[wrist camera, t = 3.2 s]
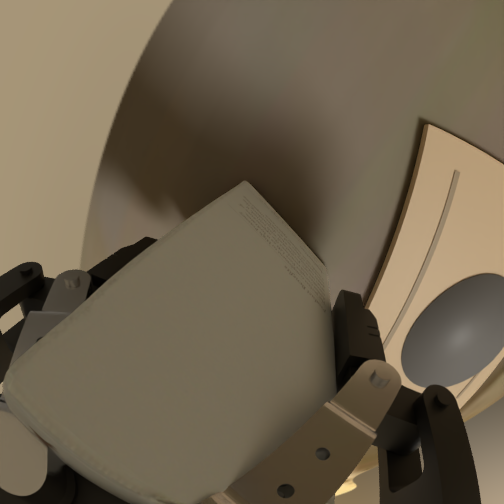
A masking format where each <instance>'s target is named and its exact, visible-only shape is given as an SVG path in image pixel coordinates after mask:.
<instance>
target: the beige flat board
mask: <svg viewBox="0 0 504 504" xmlns="http://www.w3.org/2000/svg"><path fill="white" fill-rule="evenodd" d="M365 309H369V310H370V311H371V312H372V314H373V315H374V316H375V318H376V319H377V323H378V327H379V329H378V330H379V331H380V338H381V340H382V344H383V349H384V353H385V358H386V363H388V364H390V365H391V366H393V367H394V368H395V369H396V370H397V372H398V373H399V375H400V377H401V381H402V384H401V385H403V386H405V387H407V388H410V389H412V390H415V391H417V392H419V393H422V392H423V391H424V390H425V389H426V388H427V387H428V386H430V385H433V384H436V385H441V386H443V387H445V388H447V389H448V390H449V391H450V392H451V393H452V394H453V395H454V397H455V399H456V401H457V404H458V407H459V409H460V408H461V407H462V406H463V405H464V404H465V403H466V402H467V401H468V400H469V399H470V397H471V396H472V395H473V394H474V393H475V392H476V391H477V390H478V388H479V387H480V386H481V385H482V384H483V383H484V381H485V380H486V379H487V378H488V376H489V375H490V374H491V373H492V371H493V370H494V369H495V367H496V366H497V365H498V364H499V362H500V361H501V359H502V358H503V357H504V165H503V164H502V163H500V162H499V161H497V160H496V159H494V158H492V157H491V156H489V155H488V154H486V153H484V152H482V151H481V150H479V149H477V148H476V147H474V146H472V145H470V144H468V143H466V142H465V141H463V140H461V139H459V138H457V137H455V136H453V135H451V134H449V133H447V132H445V131H443V130H441V129H439V128H436V127H434V126H432V125H430V124H425V125H424V128H423V133H422V138H421V143H420V147H419V151H418V156H417V160H416V164H415V168H414V172H413V176H412V179H411V183H410V187H409V190H408V193H407V197H406V200H405V203H404V207H403V210H402V213H401V216H400V219H399V222H398V225H397V228H396V231H395V234H394V237H393V239H392V242H391V245H390V248H389V250H388V253H387V256H386V258H385V261H384V263H383V266H382V268H381V271H380V273H379V276H378V278H377V281H376V283H375V285H374V288H373V290H372V292H371V294H370V297H369V299H368V301H367V303H366V306H365Z"/></svg>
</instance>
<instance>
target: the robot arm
mask: <svg viewBox="0 0 504 504" xmlns="http://www.w3.org/2000/svg"><path fill="white" fill-rule="evenodd" d="M156 241H157V239H154V238H150V237H144V238H143V239H141V240H140V241H138V242H137V243H135V244H134V245H130V246H127V247H124V248H121V249H120V250H118V251H117V252H115V253H114V255H113V254H112V255H111V256H109V257H108V258H107V259H105V260H103V261H102V262H100V263H99V264H97V265H96V266H94V267H93V268H91V269H90V270H89V271H87V272H85V271H82V270H68V271H65V272H63V273H61V274H59V275H58V276H57V277H56V278H55V279H53V278H48V277H44V275H43V270H42V266H41V265H40V264H39V263H36V262H26V263H23V264H20V265H18V266H17V267H15V268H13V269H12V270H10V271H8V272H7V273H5V274H3V275H2V276H0V318H1V316H3V315H4V314H5V313H6V312H8V311H9V310H10V309H12V308H13V307H15V306H16V305H17V304H20V307H21V310H22V313H23V316H24V318H23V319H22V320H21V321H19V322H18V323H17V324H16V325H14V326H13V327H12V328H11V329H9V330H8V331H7V332H6V333H4V334H3V335H2V333H1V331H0V384H1V382H3V381H4V378H5V375H6V372H7V371H8V370H9V368H10V367H11V366H12V364H13V363H14V362H15V361H16V360H18V359H19V358H20V357H21V356H22V355H23V354H24V353H25V352H26V351H27V350H29V349H30V348H31V347H32V346H33V345H34V344H36V343H37V342H38V341H39V340H40V339H41V338H43V337H44V336H45V335H46V334H47V333H48V332H50V331H51V330H52V329H53V328H54V327H55V326H57V325H58V324H59V323H60V322H61V321H63V320H64V319H65V318H66V317H68V316H69V315H70V314H72V313H73V312H74V311H75V310H76V309H77V308H78V307H79V306H80V305H81V304H82V303H83V302H84V301H86V300H87V299H88V298H89V297H90V296H91V295H92V294H93V293H94V292H95V291H96V290H97V289H98V288H100V287H101V286H102V285H103V284H104V283H105V282H106V281H107V280H108V279H110V278H111V277H112V276H113V275H114V274H116V273H117V272H118V271H119V270H121V269H122V268H123V267H124V266H125V265H126V264H128V263H129V262H130V261H131V260H133V259H134V258H135V257H137V256H138V255H139V254H140V253H142V252H143V251H144V250H145V249H147V248H148V247H150V246H151V245H152V244H154V243H155V242H156ZM332 321H333V334H334V348H335V367H336V390H337V395H336V396H335V397H334V398H333V399H332V400H331V401H327V402H326V403H325V404H324V405H323V406H322V407H321V408H320V409H319V410H318V411H317V412H316V413H315V414H314V415H313V416H312V417H311V418H310V419H309V420H308V421H307V422H306V423H305V424H304V425H303V426H302V427H301V428H300V429H298V430H297V431H296V432H295V433H294V434H293V435H292V436H291V437H290V438H289V439H288V440H286V441H285V442H284V443H283V444H282V445H281V446H280V447H278V448H277V449H276V450H275V451H274V452H273V453H271V454H270V455H269V456H268V457H266V458H265V459H264V460H263V461H262V462H260V463H259V464H258V465H257V466H255V467H254V468H253V469H251V470H250V471H249V472H247V473H246V474H245V475H243V476H242V477H241V478H239V479H238V480H237V481H235V482H234V483H232V484H231V485H229V486H228V488H227V489H226V490H225V491H223V492H218V493H216V494H214V495H212V496H210V497H208V498H206V499H205V500H203V501H201V502H199V503H198V504H326V503H327V502H328V501H329V499H330V498H331V497H332V496H333V495H334V494H335V493H336V491H337V490H338V489H339V488H340V487H341V485H342V484H343V483H344V482H345V480H346V479H347V478H348V477H349V475H350V474H351V473H352V471H353V470H354V469H355V467H356V466H357V465H358V463H359V462H360V461H361V459H362V458H363V456H364V455H365V453H366V452H367V451H368V449H369V448H370V446H371V445H374V446H377V447H378V460H379V483H380V504H481V498H480V492H479V485H478V479H477V474H476V469H475V465H474V460H473V456H472V452H471V448H470V444H469V440H468V436H467V433H466V429H465V426H464V422H463V419H462V416H461V413H460V410H459V407H458V404H457V401H456V399H455V397H454V395H453V394H452V393H451V392H450V391H449V390H448V389H447V388H445V387H443V386H441V385H436V384H433V385H430V386H428V387H427V388H426V389H425V390H424V391H423V392H422V393H419V392H417V391H415V390H412V389H410V388H407V387H405V386H403V385H401V384H402V381H401V377H400V375H399V373H398V372H397V370H396V369H395V368H394V367H393V366H391V365H390V364H388V363H386V358H385V353H384V349H383V344H382V340H381V338H380V331H379V330H378V329H379V327H378V323H377V319H376V318H375V316H374V315H373V314H372V312H371V311H370V310H369V309H365V308H363V303H362V299H361V295H360V294H358V293H354V292H350V291H346V290H341V291H340V293H339V295H338V297H337V300H336V302H335V305H334V307H333V310H332ZM420 446H421V448H422V454H423V460H424V470H423V473H422V468H421V461H420V454H419V447H420ZM277 491H279V492H282V493H283V494H284V497H283V498H282V497H280V496H279V495H278V493H277ZM0 504H130V503H128V502H126V501H124V500H122V499H120V498H118V497H116V496H114V495H113V494H111V493H109V492H107V491H105V490H104V489H102V488H100V487H99V486H97V485H95V484H94V483H92V482H90V481H89V480H87V479H86V478H84V477H83V476H81V475H80V474H78V473H77V472H76V471H74V470H73V469H72V468H70V467H69V466H68V465H66V464H65V463H64V462H63V461H62V460H61V459H60V458H59V457H58V456H57V455H56V454H55V453H54V452H53V451H52V450H51V449H50V448H49V447H48V446H47V445H45V444H44V443H43V442H42V441H41V440H40V439H39V438H37V437H36V436H35V435H34V434H33V433H32V432H31V431H30V430H29V429H28V428H27V427H26V426H25V425H24V424H23V423H22V422H21V421H20V420H19V419H18V418H17V417H16V416H15V415H14V413H13V412H12V411H11V410H10V409H9V407H8V405H7V403H6V401H5V397H4V392H2V394H0Z"/></svg>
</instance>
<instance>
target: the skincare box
mask: <svg viewBox="0 0 504 504" xmlns="http://www.w3.org/2000/svg"><path fill="white" fill-rule="evenodd" d="M3 392H4V397H5V401H6V403H7V405H8V407H9V409H10V410H11V411H12V412H13V413H14V415H15V416H16V417H17V418H18V419H19V420H20V421H21V422H22V423H23V424H24V425H25V426H26V427H27V428H28V429H29V430H30V431H31V432H32V433H33V434H34V435H35V436H36V437H37V438H39V439H40V440H41V441H42V442H43V443H44V444H45V445H47V446H48V447H49V448H50V449H51V450H52V451H53V452H54V453H55V454H56V455H57V456H58V457H59V458H60V459H61V460H62V461H63V462H64V463H65V464H66V465H68V466H69V467H70V468H72V469H73V470H74V471H76V472H77V473H78V474H80V475H81V476H83V477H84V478H86V479H87V480H89V481H90V482H92V483H94V484H95V485H97V486H99V487H100V488H102V489H104V490H105V491H107V492H109V493H111V494H113V495H114V496H116V497H118V498H120V499H122V500H124V501H126V502H128V503H130V504H198V503H199V502H201V501H203V500H205V499H206V498H208V497H210V496H212V495H214V494H216V493H218V492H223V491H225V490H226V489H227V488H228V486H229V485H231V484H232V483H234V482H235V481H237V480H238V479H239V478H241V477H242V476H243V475H245V474H246V473H247V472H249V471H250V470H251V469H253V468H254V467H255V466H257V465H258V464H259V463H260V462H262V461H263V460H264V459H265V458H266V457H268V456H269V455H270V454H271V453H273V452H274V451H275V450H276V449H277V448H278V447H280V446H281V445H282V444H283V443H284V442H285V441H286V440H288V439H289V438H290V437H291V436H292V435H293V434H294V433H295V432H296V431H297V430H298V429H300V428H301V427H302V426H303V425H304V424H305V423H306V422H307V421H308V420H309V419H310V418H311V417H312V416H313V415H314V414H315V413H316V412H317V411H318V410H319V409H320V408H321V407H322V406H323V405H324V404H325V403H326V402H327V401H331V400H332V399H333V398H334V397H335V396H336V395H337V390H336V367H335V348H334V334H333V321H332V310H331V301H330V290H329V281H328V273H327V268H326V267H325V266H324V265H323V263H322V262H321V261H320V260H319V259H318V258H317V257H316V256H315V254H314V253H313V252H312V251H311V250H310V249H309V248H308V246H307V245H306V244H305V243H304V242H303V241H302V240H301V239H300V237H299V236H298V235H297V234H296V233H295V232H294V231H293V230H292V229H291V227H290V226H289V225H288V224H287V223H286V222H285V221H284V220H283V219H282V218H281V216H280V215H279V214H278V213H277V212H276V211H275V210H274V209H273V208H272V207H271V206H270V205H269V203H268V202H267V201H266V200H265V199H264V198H263V197H262V196H261V195H260V194H259V193H258V192H257V191H256V190H255V188H254V187H253V186H252V185H251V184H250V183H248V182H247V181H243V182H241V183H240V184H239V185H237V186H236V187H234V188H232V189H231V190H229V191H228V192H226V193H225V194H223V195H222V196H220V197H219V198H217V199H216V200H214V201H213V202H211V203H210V204H208V205H207V206H205V207H204V208H202V209H201V210H200V211H198V212H197V213H195V214H194V215H192V216H191V217H189V218H188V219H186V220H185V221H184V222H182V223H181V224H179V225H178V226H177V227H175V228H174V229H173V230H171V231H170V232H168V233H167V234H165V235H164V236H163V237H161V238H160V239H159V240H157V241H156V242H155V243H154V244H152V245H151V246H150V247H148V248H147V249H145V250H144V251H143V252H142V253H140V254H139V255H138V256H137V257H135V258H134V259H133V260H131V261H130V262H129V263H128V264H126V265H125V266H124V267H123V268H122V269H121V270H119V271H118V272H117V273H116V274H114V275H113V276H112V277H111V278H110V279H108V280H107V281H106V282H105V283H104V284H103V285H102V286H101V287H100V288H98V289H97V290H96V291H95V292H94V293H93V294H92V295H91V296H90V297H89V298H88V299H87V300H86V301H84V302H83V303H82V304H81V305H80V306H79V307H78V308H77V309H76V310H75V311H74V312H73V313H72V314H70V315H69V316H68V317H66V318H65V319H64V320H63V321H61V322H60V323H59V324H58V325H57V326H55V327H54V328H53V329H52V330H51V331H50V332H48V333H47V334H46V335H45V336H44V337H43V338H41V339H40V340H39V341H38V342H37V343H36V344H34V345H33V346H32V347H31V348H30V349H29V350H27V351H26V352H25V353H24V354H23V355H22V356H21V357H20V358H19V359H18V360H16V361H15V362H14V363H13V364H12V366H11V367H10V368H9V370H8V371H7V372H6V375H5V378H4V381H3ZM277 493H278V495H279V496H280V497H282V498H283V497H284V494H283V493H282V492H279V491H277ZM334 499H335V494H334V495H333V496H332V497H331V498H330V499H329V501H328V502H327V503H326V504H334Z"/></svg>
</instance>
